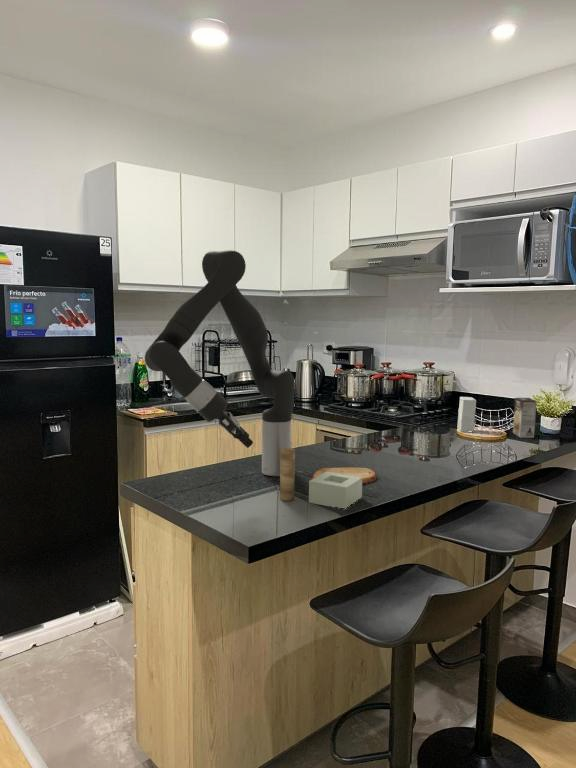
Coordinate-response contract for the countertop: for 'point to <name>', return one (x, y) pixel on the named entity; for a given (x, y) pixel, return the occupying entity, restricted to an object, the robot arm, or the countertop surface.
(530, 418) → the coffee box
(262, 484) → the countertop surface
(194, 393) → the robot arm
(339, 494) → the holder
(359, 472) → the slice of bread
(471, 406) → the skincare box
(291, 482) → the dowel
